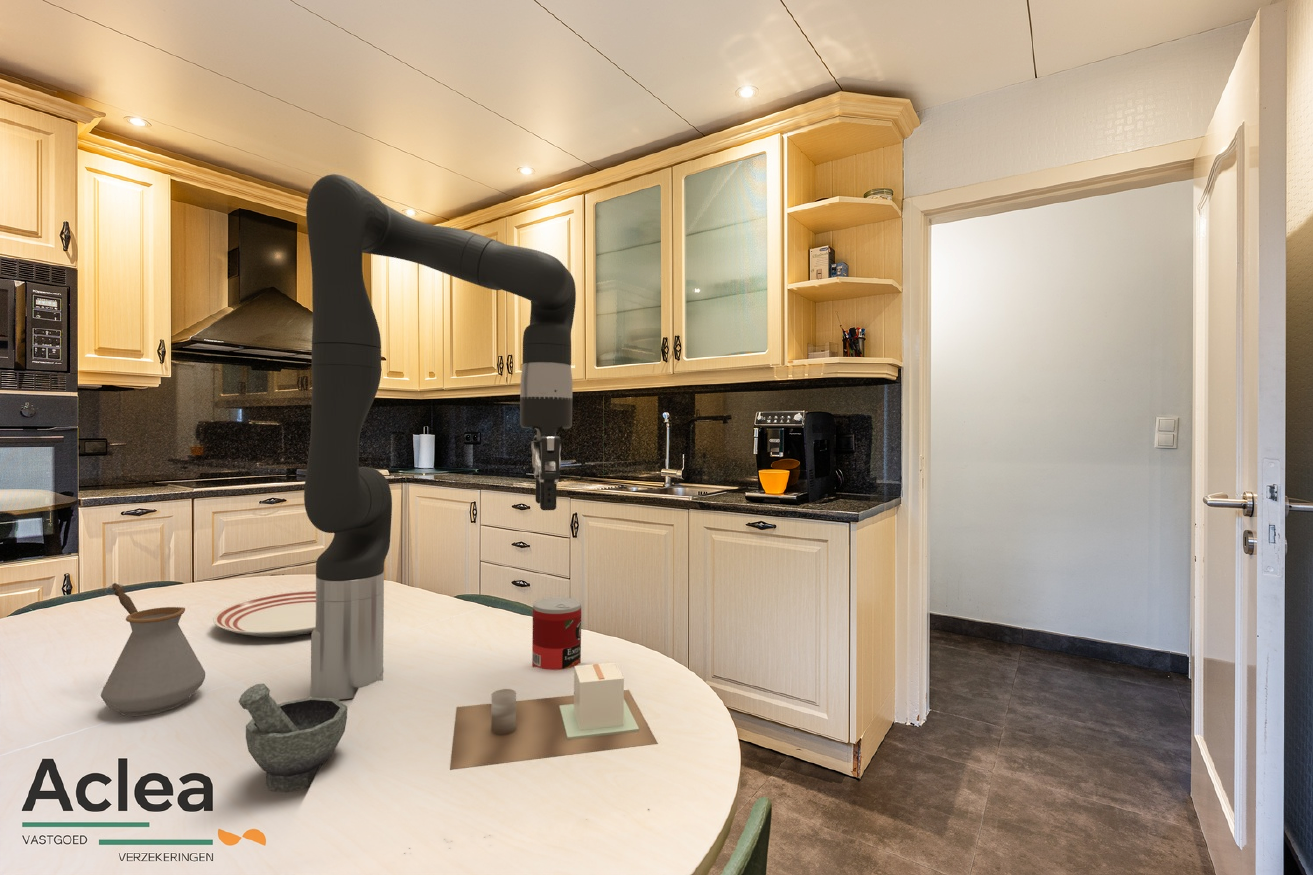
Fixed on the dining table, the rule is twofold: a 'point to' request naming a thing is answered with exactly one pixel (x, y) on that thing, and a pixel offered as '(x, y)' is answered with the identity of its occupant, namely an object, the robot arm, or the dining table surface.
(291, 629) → the dinner plate
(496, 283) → the robot arm
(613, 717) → the cream drawer box
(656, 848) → the dining table surface
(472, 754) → the post board
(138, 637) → the coffee pot
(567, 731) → the mat
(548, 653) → the canned food
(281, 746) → the mortar and pestle
